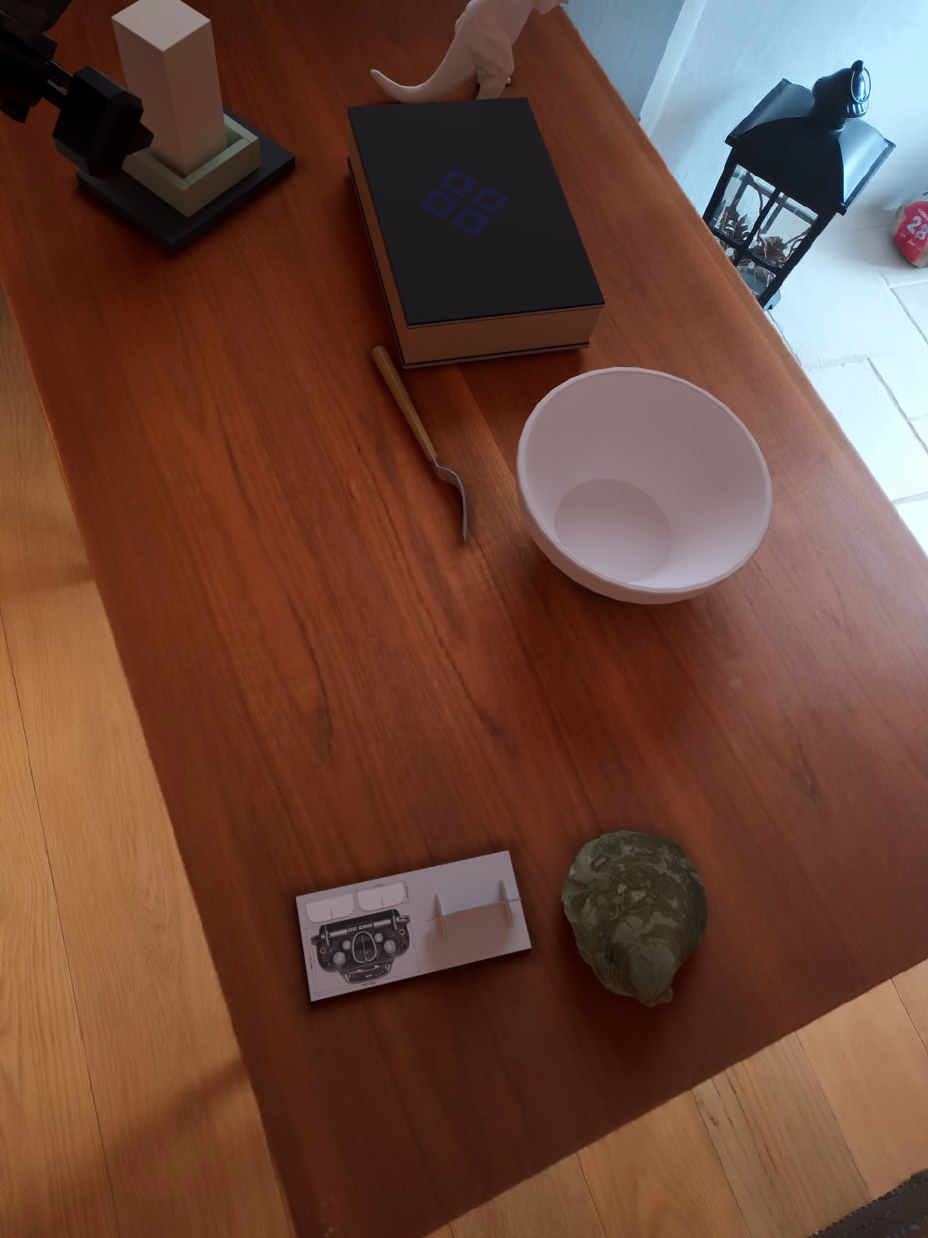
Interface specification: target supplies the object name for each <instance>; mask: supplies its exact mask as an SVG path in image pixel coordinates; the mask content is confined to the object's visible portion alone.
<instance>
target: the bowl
mask: <svg viewBox="0 0 928 1238" xmlns="http://www.w3.org/2000/svg"><path fill="white" fill-rule="evenodd" d="M516 449H517V450H516V458H515V467H514V480H515V488H516V496H517V497H516V498H517V505H518V507H519V511H520V513H521V516H522V519H523V522H524V525H525V527H526V529H527V531H528V532H529V534H530V536H531V537H532V539H533V541H534V542H535V544H536V546H537V547H538V548H539V550H541V552H542V553H543V554H544V555H545V556H546V557H547V559H548V560H549V561H550V562H551V563H552V564H553V565H554V566H555V568H557V569H558V570H559V571H561V572H562V573H563V574H565V575H566V577H568V578H569V579H571V580H572V581H574V582H575V583H577V584H579V585H580V586H582V587H584V588H586V589H587V590H589V591H591V592H594V593H596V594H599V595H601V596H605V597H608V598H610V599H613V600H616V601H620V602H627V603H633V604H638V605H639V604H640V605H668V604H671V603H677V602H681V601H686V600H690V599H692V598H695V597H697V596H699V595H702V594H704V593H707V592H708V591H711V590H713V589H715V588H717V587H719V586H721V585H723V584H725V582H726V581H728V580H729V579H730V578H732V577H733V576H734V575H736V574H737V573H739V572H740V570H741V569H743V568H745V567H746V565H747V564H748V563H749V562H750V561H751V560H752V558H753V557H754V556H755V555H756V553H757V552H758V551H759V549H760V547H761V545H762V544H763V541H764V539H765V537H766V534H767V532H768V531H769V528H770V523H771V517H772V512H773V508H774V507H773V483H772V480H771V477H770V476H771V475H770V472H769V468H768V464H767V462H766V459H765V457H764V455H763V453H762V451H761V449H760V446H759V444H758V443H757V441H756V440H755V438H754V437H753V435H752V434H751V432H750V431H749V429H748V428H747V426H746V425H745V424H744V422H743V421H742V420H741V419H739V418H738V416H737V415H736V414H735V412H733V411H732V410H731V409H730V408H729V407H728V406H727V405H726V404H724V403H723V402H722V401H720V400H719V399H718V398H717V397H715V396H714V395H712V394H711V393H710V392H708V391H707V390H705V389H703V388H702V387H699V386H697V385H695V384H694V383H692V382H689V381H688V380H686V379H683V378H680V377H678V376H675V375H672V374H669V373H666V372H663V371H660V370H653V369H648V368H643V367H628V366H627V367H626V366H625V367H623V366H618V367H617V366H613V367H608V368H603V369H601V368H600V369H594V370H591V371H587V372H585V373H582V374H579V375H577V376H574V377H571V378H569V379H567V380H566V381H564V382H563V383H560V384H559V385H558V386H556V387H554V388H553V389H552V390H550V391H549V392H548V393H547V394H546V395H545V396H544V397H543V398H541V400H540V401H539V402H538V403H537V404H536V406H535V407H534V409H533V410H532V412H531V413H530V415H529V416H528V418H527V419H526V421H525V423H524V426H523V428H522V432H521V435H520V438H519V441H518V444H517V448H516Z"/></svg>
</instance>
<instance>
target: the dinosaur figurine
mask: <svg viewBox="0 0 928 1238" xmlns="http://www.w3.org/2000/svg"><path fill="white" fill-rule="evenodd" d="M569 2H570V0H470V1H469V2H468V3H467V5H466V6H465V9H464V11H463V12H462V13H461V15H460V16H459V18H458V19H456V21H455V24H454V28H453V29H454V38H453V40H452V42H451V43H450V46H449V49H448V50H447V52H446V55H445V57H444V58H443V60H442V61H441V62H440V64H439V66H438V67H437V69H436V70H435V71H434V73H433V74H432V75H431V77H429V78H428V79H427V80H426V81H425V82H423V83H421V84H418V85H414V86H406V85H400V84H398V83H396V82H394V81H393V80H391V79H389V78H388V77H386V75H384V74H382V73H381V71H379V70H376V69H371V70H369V73H370V76H371V78H372V79H373V80H374V81H375V83H376V84H377V85H379V86H380V88H381V89H382V90H383V92H384V93H386V94H387V95H388V96H389V97H391V98H392V99H393V100H395V101H398V102H400V103H401V104H406V103H424V102H439V101H441V100H442V99H444V98H446V97H448V96H449V95H451V94H452V93H454V92H455V91H456V90H457V89H459V88H460V87H461V86H463V85H464V83H465V82H466V81H468V80H469V79H470V78H471V77H472V76H474V74H475V73H476V74H477V83H478V84H479V85H480V86H479V91H478V93H477V95H476V97H475V99H474V100H479V99H497V98H500V96H501V94H502V93H503V92H504V90H505V87H506V85H509V84H511V76H512V75H513V73H514V70H515V61H514V56H513V48H512V46H513V45H514V44H515V42H517V39H518V38H519V36H520V34H521V32H522V30H523V28H524V26H525V25H526V23H527V21H528V19H529V16H530V14H531V12H532V11H533V10H535V11H537V12H538V14H539V15H541V16H543V15H546V14H547V13H549V12H551V10H552V9H554V8H555V7H557V6H558V5H561V4H563V5H564V4H565V5H569Z"/></svg>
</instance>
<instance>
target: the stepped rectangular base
mask: <svg viewBox="0 0 928 1238" xmlns="http://www.w3.org/2000/svg"><path fill="white" fill-rule="evenodd" d="M222 108H223V115H224V123H225V130H226V137H227V145H228V149H226V150H225V151H223V152H222V153H220V154H219V155H217V156H216V157H215V158H213V159H212V160H210V161H209V162H207V163H206V164H204V165H203V166H201V167H200V168H199V169H197V170H196V171H194V172H193V173H191V174H190V175H188V176H187V177H185V178H184V179H181V178H180V177H179V176H177V175H176V174H175V173H173V172H172V171H171V170H169V169H168V168H166V167H165V166H164V165H162V164H161V163H160V162H158V161H157V160H155V159H154V158H153V157H151V156H150V155H149V154H147V153H146V152H145V151H143V150H140V151H138V152H135V153H133V154H130V155H127V156H126V158H125V160H124V163H123V165H122V168H121V170H120V173H119V175H118V178H117V179H116V180H113V181H111V182H107V181H104V180H101V179H98V178H95V177H92V176H90V175H88V174H87V173H86V172H84V171H83V170H82V169H78V170H77V171H76V172H75V176H76V178H77V183H78V184H79V185H80V186H81V187H83V188H84V189H85V190H86V191H88V192H89V193H91V194H92V195H93V196H94V197H96V198H97V199H99V200H100V201H101V202H103V203H104V204H105V205H107V206H108V207H110V208H111V210H113V211H115V213H117V214H119V215H120V216H121V217H123V218H124V219H125V220H127V221H128V222H129V223H131V224H132V225H133V226H135V227H136V228H137V229H138V230H140V232H143V233H144V234H145V235H146V236H148V237H149V238H151V239H152V240H153V241H154V242H156V243H157V244H159V245H160V246H161V247H162V248H164V249H165V250H166V251H168V252H169V253H171V254H172V255H174V256H175V255H176V254H178V253H179V252H181V251H182V250H183V249H185V248H186V247H187V246H188V245H190V244H191V243H193V242H194V241H195V240H196V239H198V238H199V237H201V236H202V235H204V234H206V232H207V231H209V230H210V229H212V228H213V227H215V226H216V225H217V224H219V223H220V222H222V221H223V220H224V219H226V218H227V217H228V216H229V215H231V214H233V212H235V211H236V210H238V209H239V208H241V207H242V206H243V205H245V204H247V202H249V201H250V200H252V199H253V198H254V197H256V196H257V195H258V194H260V193H261V192H262V191H264V190H265V189H267V188H268V187H269V186H270V185H272V184H273V183H275V182H276V181H278V180H279V179H280V178H282V177H283V176H285V175H286V174H287V173H289V172H290V171H291V170H293V169H294V168H295V167H296V156H295V155H294V154H293V153H291V151H288V150H287V149H286V148H284V147H283V146H281V145H280V144H279V143H278V142H276V141H274V140H273V139H271V138H270V137H269V136H267V135H266V134H264V133H263V132H262V131H260V130H259V129H258V128H256V127H255V126H253V125H251V124H250V123H249V122H247V121H246V120H245V119H243V118H242V117H240V116H239V115H238V114H236V113H235V112H234V111H232V110H230V108H228V107H226V106H225V105H224V104H222Z"/></svg>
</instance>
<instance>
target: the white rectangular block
mask: <svg viewBox="0 0 928 1238" xmlns="http://www.w3.org/2000/svg"><path fill="white" fill-rule="evenodd" d="M110 19H111V20H110V21H111V24H112V28H113V32H114V36H115V40H116V44H117V49H118V53H119V57H120V61H121V66H122V69H123V74H124V80H125V83H126V88H127V89H128V90H130V91H131V92H132V93H134V94H135V95H137V96H138V97H139V98H141V100H142V104H143V109H144V112H143V115H142V117H141V120H140V122H141V123H142V124H143V125H144V126H145V127H147V128H148V129H149V130H150V131H151V132H153V133H154V138H153V140H152V143H151V145H150V147H148V148H146V149H143V151H145V152H146V153H147V154H149V155H150V156H151V157H153V158H154V159H155V160H157V161H158V162H160V163H161V164H162V165H164V166H165V167H166V168H168V169H169V170H171V171H172V172H173V173H175V174H176V175H177V176H179V177H180V178H181V179H184V178H185V177H187V176H188V175H190V174H191V173H193V172H194V171H196V170H197V169H199V168H200V167H201V166H203V165H204V164H206V163H207V162H209V161H210V160H212V159H213V158H215V157H216V156H217V155H219V154H220V153H222V152H223V151H225V150H226V149H228V145H227V137H226V130H225V123H224V115H223V108H222V105H223V101H222V94H221V93H222V92H221V87H220V79H219V72H218V65H217V58H216V50H215V43H214V35H213V28H212V20H211V19H209V18H208V17H206V16H205V15H203V14H202V13H200V12H198V10H195V9H194V8H193V7H191V6H189V5H188V4H186V3H184V2H183V1H182V0H137V1H136V2H134V3H132V4H130V5H128V6H127V7H126V8H124V9H122V10H120V11H119V12H117V13H116V14H114V15H113V16H111V17H110Z"/></svg>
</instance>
